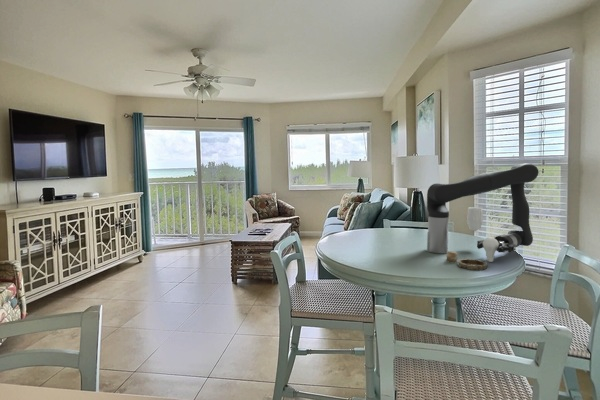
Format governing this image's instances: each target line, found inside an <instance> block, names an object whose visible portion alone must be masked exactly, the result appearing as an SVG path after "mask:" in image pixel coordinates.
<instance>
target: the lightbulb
mask: <svg viewBox="0 0 600 400" xmlns="http://www.w3.org/2000/svg"><path fill="white" fill-rule="evenodd" d="M483 240H484V241H483V247H484V248H483V249H484V251H485V256H486V261H487V262H488V263H492V262H494V257H495V254H496V250H497V248H498V246H499V243H498V241H497V240H496V239H495V237H491V236H488V237H486V238H484V239H483Z"/></svg>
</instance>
